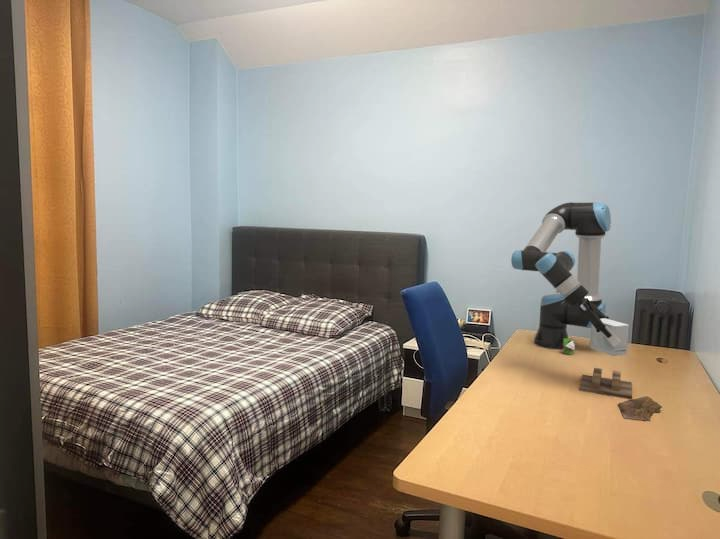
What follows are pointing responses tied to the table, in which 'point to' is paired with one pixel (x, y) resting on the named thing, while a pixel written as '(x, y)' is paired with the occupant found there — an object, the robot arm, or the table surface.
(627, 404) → the wooden fragment
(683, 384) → the table surface
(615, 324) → the skincare box
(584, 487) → the table surface
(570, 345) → the geometric puzzle
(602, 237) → the robot arm
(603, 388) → the ridge board
